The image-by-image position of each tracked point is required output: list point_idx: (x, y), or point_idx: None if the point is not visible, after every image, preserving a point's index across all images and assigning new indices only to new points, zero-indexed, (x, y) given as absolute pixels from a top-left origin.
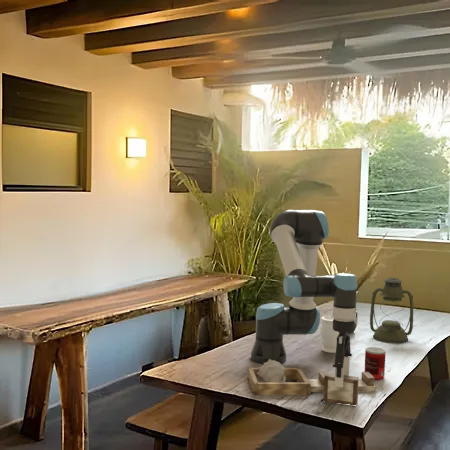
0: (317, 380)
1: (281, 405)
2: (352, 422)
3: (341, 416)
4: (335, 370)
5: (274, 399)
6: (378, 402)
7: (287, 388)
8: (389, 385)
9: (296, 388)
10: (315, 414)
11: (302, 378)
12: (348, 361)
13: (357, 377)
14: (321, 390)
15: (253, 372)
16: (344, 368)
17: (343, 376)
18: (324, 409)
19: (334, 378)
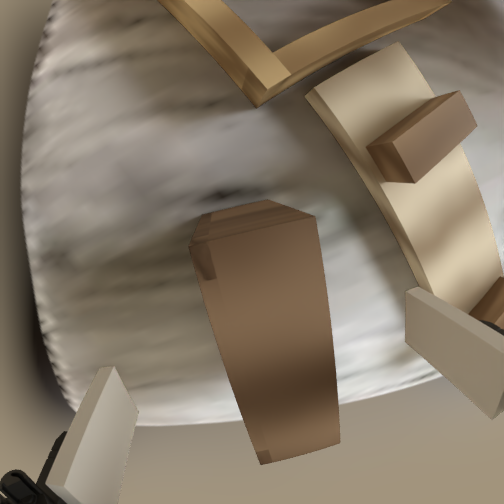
0: (418, 96)
1: (40, 81)
2: (83, 397)
3: (95, 354)
4: (59, 459)
5: (91, 18)
6: (344, 401)
7: (174, 4)
8: None
9: (206, 35)
10: (36, 256)
11: (340, 20)
12: (471, 395)
13: (326, 444)
14: (343, 144)
15: None
16: (435, 337)
17: (295, 383)
18: (107, 265)
19: (215, 336)
